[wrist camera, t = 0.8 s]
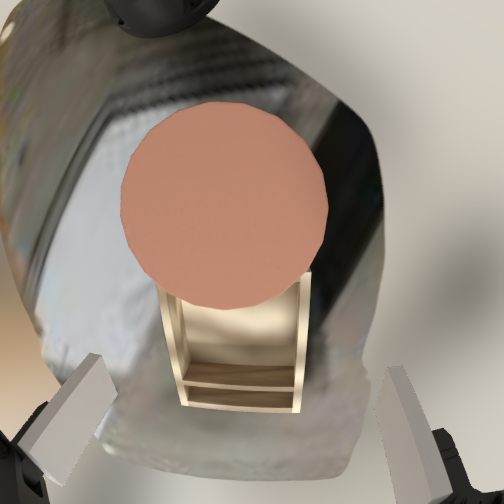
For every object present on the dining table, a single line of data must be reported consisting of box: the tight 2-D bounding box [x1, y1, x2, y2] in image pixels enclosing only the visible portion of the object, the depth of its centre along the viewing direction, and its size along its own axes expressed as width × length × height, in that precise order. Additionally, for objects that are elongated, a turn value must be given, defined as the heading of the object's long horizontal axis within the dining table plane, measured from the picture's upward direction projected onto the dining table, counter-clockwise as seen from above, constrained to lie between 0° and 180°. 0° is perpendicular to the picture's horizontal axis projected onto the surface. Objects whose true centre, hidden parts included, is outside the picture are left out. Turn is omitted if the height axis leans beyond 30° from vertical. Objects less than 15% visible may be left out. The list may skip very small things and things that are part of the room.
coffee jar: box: [120, 101, 328, 310], centre depth 22 cm, size 11×11×18 cm
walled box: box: [156, 266, 311, 413], centre depth 34 cm, size 20×16×5 cm
